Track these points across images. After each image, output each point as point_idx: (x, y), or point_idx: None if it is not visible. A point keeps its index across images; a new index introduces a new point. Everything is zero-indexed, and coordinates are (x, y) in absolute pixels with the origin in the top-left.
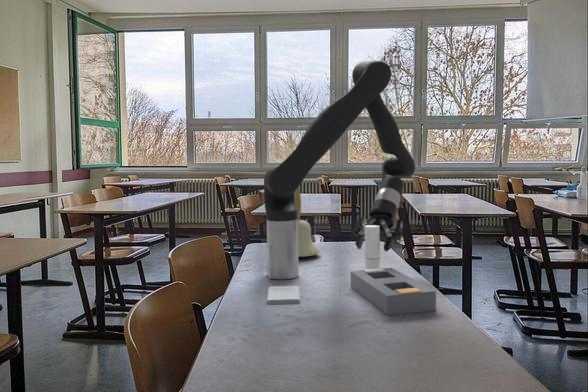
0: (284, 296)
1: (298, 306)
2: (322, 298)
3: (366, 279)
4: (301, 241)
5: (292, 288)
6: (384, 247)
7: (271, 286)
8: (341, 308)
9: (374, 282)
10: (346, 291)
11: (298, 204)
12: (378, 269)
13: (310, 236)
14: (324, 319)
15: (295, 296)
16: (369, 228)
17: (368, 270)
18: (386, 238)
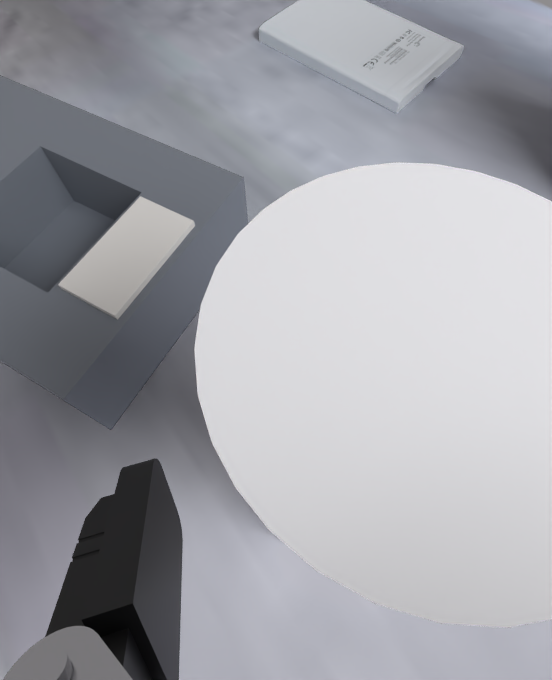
0: (318, 16)
1: (237, 24)
2: (236, 96)
3: (72, 120)
4: None
5: (382, 70)
6: (144, 463)
7: (458, 46)
8: (113, 73)
9: (11, 108)
10: None
11: None
12: (106, 275)
13: None
14: (101, 8)
15: (291, 31)
16: (341, 195)
17: (148, 222)
18: (129, 575)
